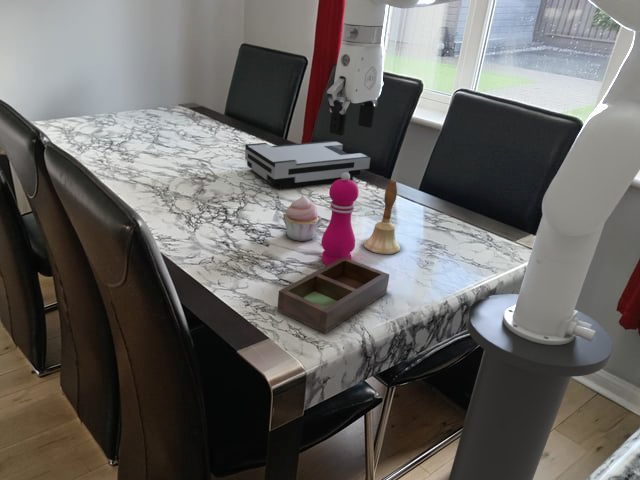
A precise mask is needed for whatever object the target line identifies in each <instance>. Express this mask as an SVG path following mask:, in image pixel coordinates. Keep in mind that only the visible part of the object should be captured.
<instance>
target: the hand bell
mask: <svg viewBox="0 0 640 480" xmlns="http://www.w3.org/2000/svg"><path fill="white" fill-rule="evenodd" d="M397 196H398V187H397V180H395V179H390V180H389V183H388V184H387V186H386V188H385V191H384V199H383V201H384V211H383V215H382V219H381V221H378V222H376V223H375V225H374V228H373V231H372V233H371V235H370V237H369V238H367V239H365V241H364V243H363V246H364V248H365V249H367V250H368V251H370V252H373V253H376V254H382V255H392V254H393V255H394V254H396V253H398V252H399V251H400V250H401V246H400V244H399V243H398V242H397V240H396V226H395V225H394V224H393V223H392V222H391V216H392V210H393V206H394V204H395V203H396V200H397Z"/></svg>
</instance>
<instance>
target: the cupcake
mask: <svg viewBox="0 0 640 480" xmlns="http://www.w3.org/2000/svg"><path fill="white" fill-rule="evenodd" d="M321 219H322V217H321V216H320V215H319V213H318V207H317V205H315V203H314V202H313V201H310V200H309V199H308V198H307V197H306V196H304V195H302V196H301V197H300V198H298V199H295V200H294V201H292V202H291V204H290V205H289V206H288V207H287V209H286V212H285V213H282V221H283V223H284V225H285V231H286V235H287V237H288V238H289V239H290V240H293V241H299V242H306V241H310V240H313V238H314V237H315V234H316V231H317V228H318V227H319V225H320V224H321V223H322V220H321Z"/></svg>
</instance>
